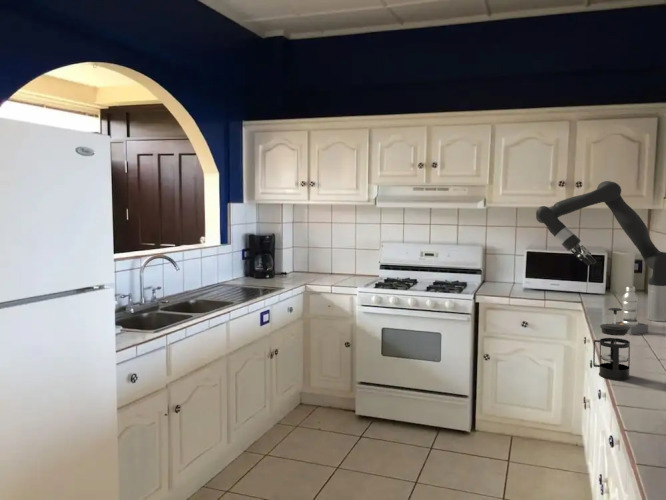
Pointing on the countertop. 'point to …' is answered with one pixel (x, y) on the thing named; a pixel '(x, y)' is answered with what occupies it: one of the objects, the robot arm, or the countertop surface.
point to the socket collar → (636, 328)
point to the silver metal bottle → (630, 307)
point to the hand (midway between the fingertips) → (592, 263)
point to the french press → (613, 351)
